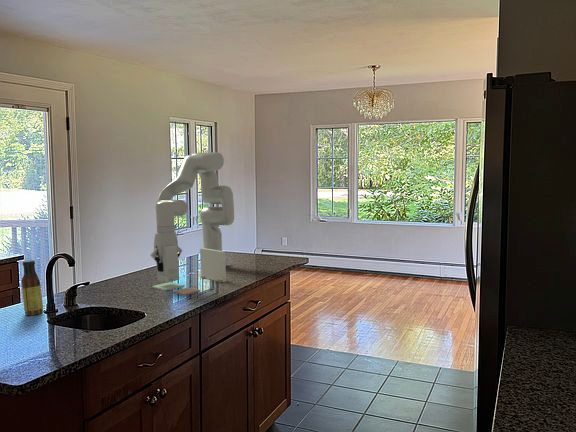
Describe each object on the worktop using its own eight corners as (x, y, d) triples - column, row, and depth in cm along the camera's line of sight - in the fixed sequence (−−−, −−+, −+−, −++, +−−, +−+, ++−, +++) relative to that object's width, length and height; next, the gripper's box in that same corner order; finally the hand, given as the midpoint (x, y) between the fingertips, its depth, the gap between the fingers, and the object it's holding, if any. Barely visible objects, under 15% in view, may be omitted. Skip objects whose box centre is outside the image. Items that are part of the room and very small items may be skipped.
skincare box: (179, 280, 233) (178, 245, 231) (167, 282, 228) (165, 247, 226) (168, 277, 238) (167, 243, 237) (156, 280, 234) (154, 245, 232)
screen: (205, 276, 253) (204, 247, 251) (228, 281, 242) (227, 251, 241) (199, 278, 250) (197, 248, 248) (221, 282, 239) (220, 252, 238)
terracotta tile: (187, 288, 229) (187, 287, 229) (199, 291, 224) (199, 290, 224) (172, 292, 223) (172, 291, 223) (183, 295, 218) (183, 294, 218)
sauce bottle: (47, 311, 198) (43, 259, 196) (35, 316, 192) (31, 262, 190) (31, 310, 199) (28, 259, 197) (20, 315, 193) (16, 262, 191)
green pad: (171, 283, 241) (170, 281, 241) (184, 286, 234) (184, 285, 234) (152, 287, 233) (152, 286, 233) (165, 290, 227) (165, 289, 226)
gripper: (177, 227, 240) (178, 266, 242) (143, 231, 227) (145, 272, 229) (187, 228, 235) (188, 267, 237) (153, 232, 222) (155, 274, 224)
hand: (167, 269), depth 233 cm, fingers closed on skincare box, 6 cm apart
